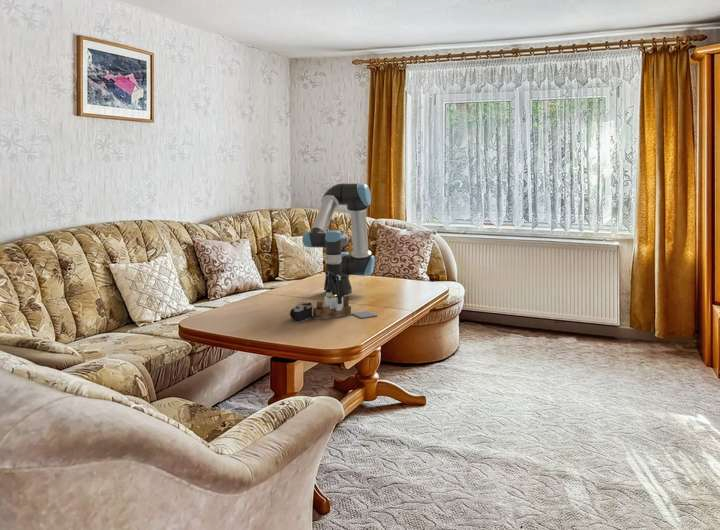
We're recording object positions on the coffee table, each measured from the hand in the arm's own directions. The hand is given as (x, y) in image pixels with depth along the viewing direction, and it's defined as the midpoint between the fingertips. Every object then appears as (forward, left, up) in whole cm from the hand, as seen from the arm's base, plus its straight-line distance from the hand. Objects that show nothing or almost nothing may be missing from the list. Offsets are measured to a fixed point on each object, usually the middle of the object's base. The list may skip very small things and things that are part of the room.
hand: (333, 307), depth 279 cm
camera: (-2, -17, -4) cm, 18 cm away
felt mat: (+6, +14, -4) cm, 15 cm away
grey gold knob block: (0, 0, +1) cm, 1 cm away
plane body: (0, -1, -4) cm, 4 cm away
